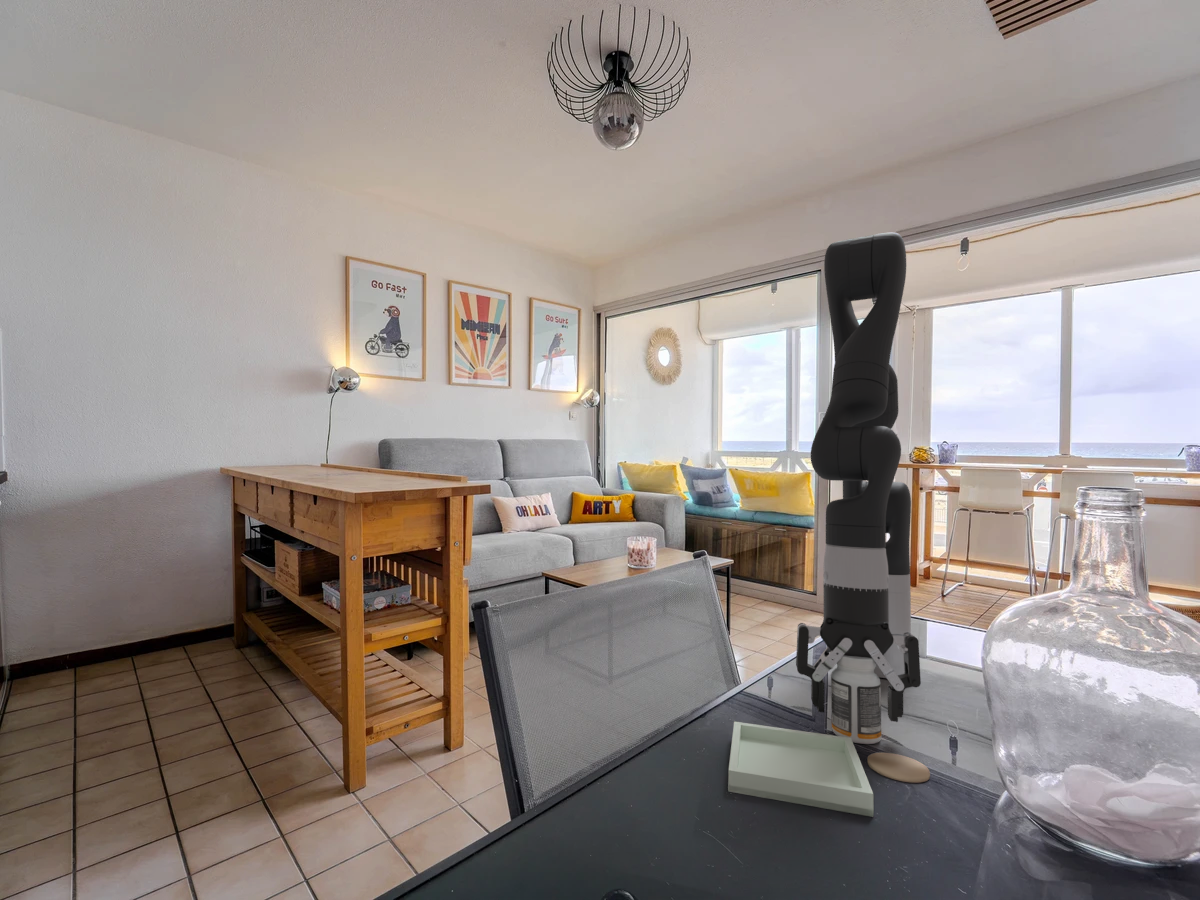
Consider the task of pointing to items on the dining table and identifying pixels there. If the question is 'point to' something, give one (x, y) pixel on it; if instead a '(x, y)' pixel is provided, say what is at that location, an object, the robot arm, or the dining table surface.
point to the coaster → (898, 767)
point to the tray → (798, 768)
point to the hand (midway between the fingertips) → (855, 714)
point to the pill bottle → (856, 700)
